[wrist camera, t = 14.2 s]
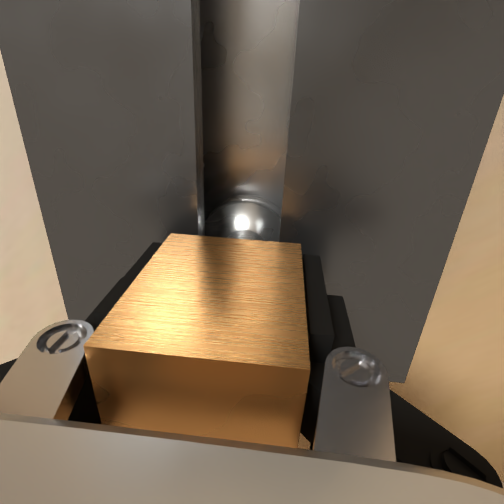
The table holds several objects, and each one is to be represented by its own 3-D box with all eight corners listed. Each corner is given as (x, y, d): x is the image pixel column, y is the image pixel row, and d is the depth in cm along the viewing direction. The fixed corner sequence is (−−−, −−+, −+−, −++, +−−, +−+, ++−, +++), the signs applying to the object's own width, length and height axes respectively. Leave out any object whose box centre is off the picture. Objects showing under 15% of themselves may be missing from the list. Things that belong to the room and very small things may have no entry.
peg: (297, 198, 14) (310, 369, 6) (288, 279, 16) (288, 501, 8) (203, 191, 14) (82, 345, 6) (205, 272, 16) (114, 478, 8)
